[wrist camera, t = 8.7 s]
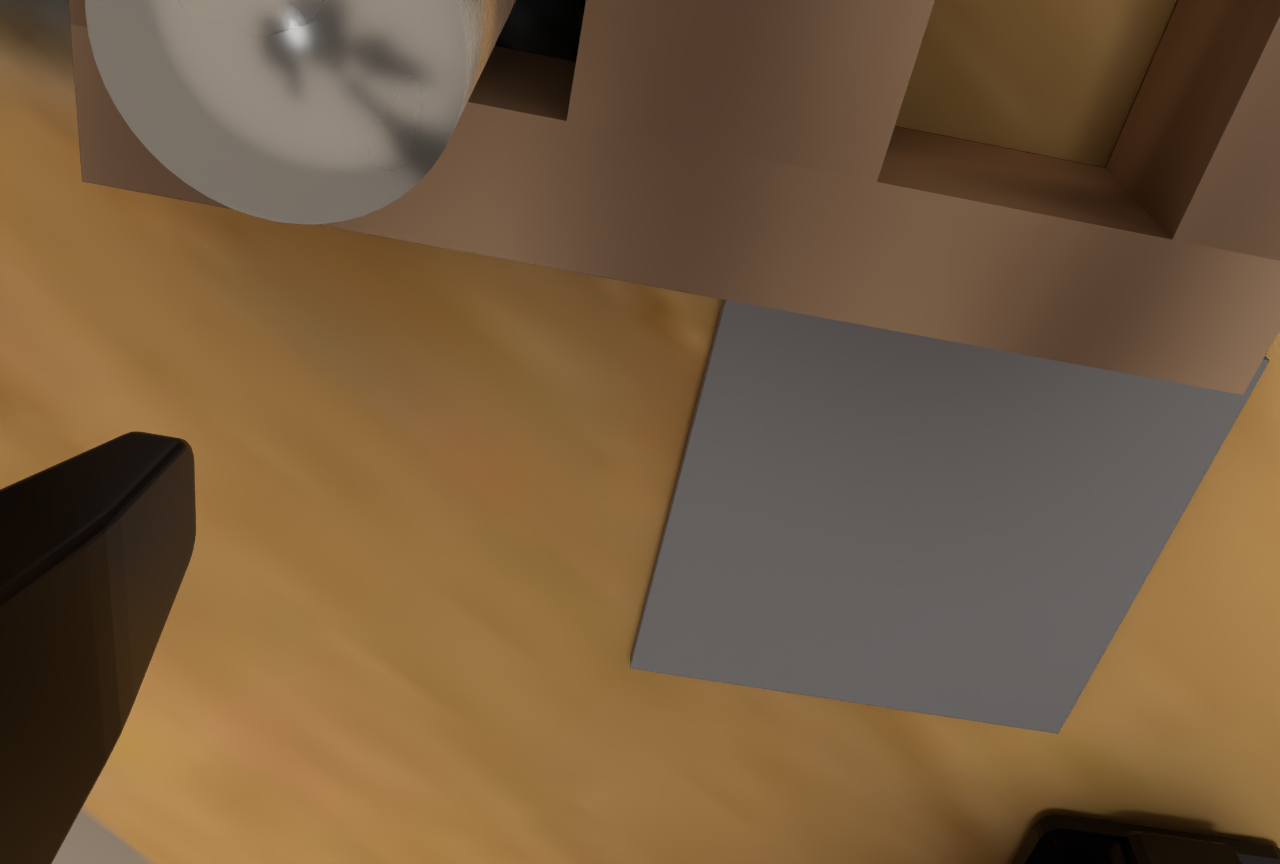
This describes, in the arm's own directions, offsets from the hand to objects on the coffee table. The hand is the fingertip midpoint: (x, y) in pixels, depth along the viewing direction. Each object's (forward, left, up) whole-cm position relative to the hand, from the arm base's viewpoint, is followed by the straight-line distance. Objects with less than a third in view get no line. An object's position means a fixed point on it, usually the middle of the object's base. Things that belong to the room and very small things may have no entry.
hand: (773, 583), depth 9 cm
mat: (-7, -6, -12) cm, 15 cm away
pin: (+3, +5, -12) cm, 13 cm away
